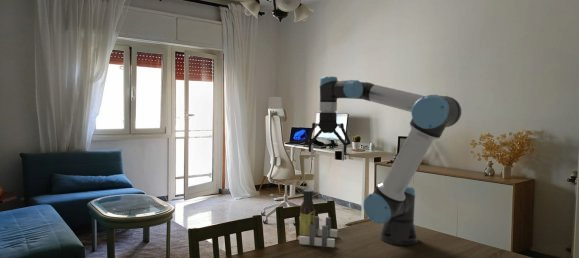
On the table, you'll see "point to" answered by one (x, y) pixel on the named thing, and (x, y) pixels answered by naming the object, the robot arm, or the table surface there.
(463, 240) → the table surface
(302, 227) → the sauce bottle
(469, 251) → the table surface
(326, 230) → the grey block structure
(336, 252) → the table surface
